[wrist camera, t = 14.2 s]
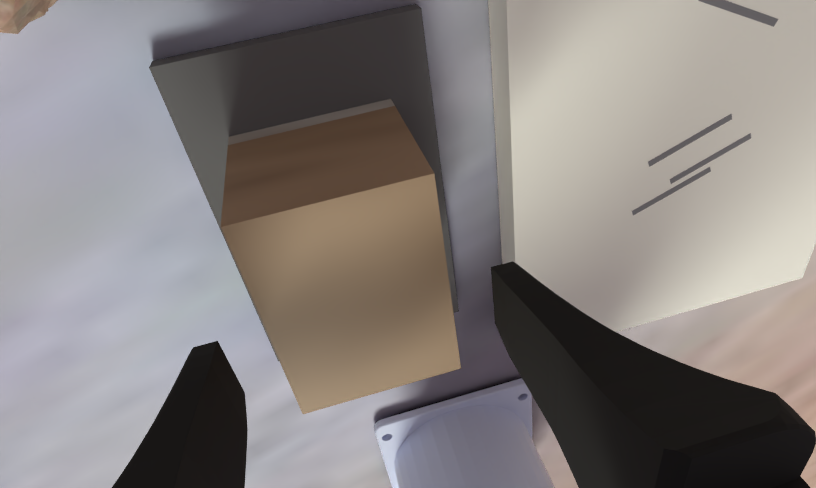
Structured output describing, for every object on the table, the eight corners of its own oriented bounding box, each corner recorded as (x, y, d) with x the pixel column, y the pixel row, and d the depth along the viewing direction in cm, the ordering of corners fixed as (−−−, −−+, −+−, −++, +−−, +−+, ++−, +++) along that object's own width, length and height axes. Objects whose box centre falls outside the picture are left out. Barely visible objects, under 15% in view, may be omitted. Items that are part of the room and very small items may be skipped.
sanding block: (421, 271, 21) (460, 368, 17) (293, 305, 20) (302, 414, 16) (390, 98, 17) (434, 173, 13) (228, 137, 16) (220, 227, 12)
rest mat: (454, 301, 23) (458, 311, 22) (277, 350, 22) (278, 361, 22) (415, 3, 16) (420, 8, 15) (152, 60, 15) (149, 67, 14)
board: (777, 259, 26) (802, 278, 25) (506, 336, 25) (518, 360, 24) (943, -224, 15) (1001, -231, 14) (480, -135, 14) (501, -134, 13)
